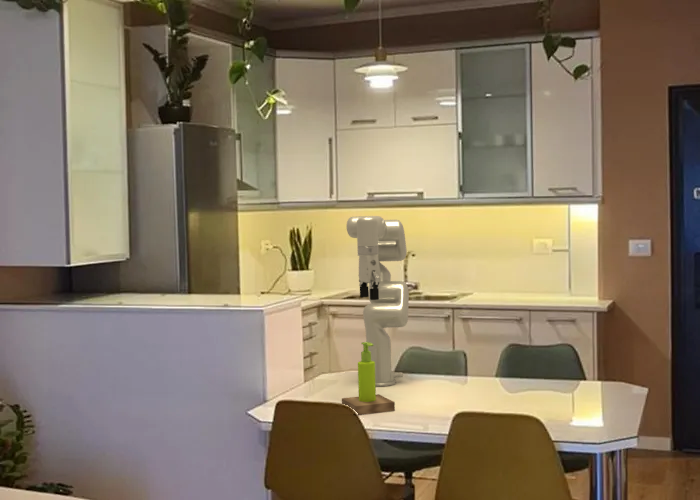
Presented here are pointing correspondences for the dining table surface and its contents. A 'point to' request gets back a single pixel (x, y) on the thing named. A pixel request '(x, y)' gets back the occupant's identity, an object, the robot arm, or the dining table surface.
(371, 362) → the soap dispenser
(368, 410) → the block
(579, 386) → the dining table surface
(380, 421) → the dining table surface
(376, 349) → the robot arm
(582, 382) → the dining table surface
